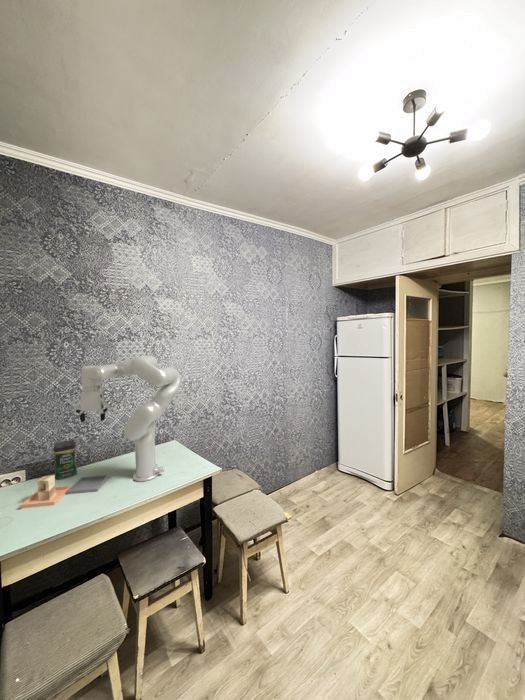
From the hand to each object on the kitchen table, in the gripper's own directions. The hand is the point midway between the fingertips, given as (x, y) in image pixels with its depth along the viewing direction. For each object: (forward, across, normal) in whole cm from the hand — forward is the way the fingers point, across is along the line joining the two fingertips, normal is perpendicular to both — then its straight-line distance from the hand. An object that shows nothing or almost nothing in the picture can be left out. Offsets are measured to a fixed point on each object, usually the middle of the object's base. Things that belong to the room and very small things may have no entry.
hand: (93, 421), depth 146 cm
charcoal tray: (+28, -3, +14) cm, 32 cm away
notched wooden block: (+28, +11, +22) cm, 37 cm away
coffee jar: (+28, +14, +1) cm, 32 cm away
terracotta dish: (+28, +11, +22) cm, 37 cm away
